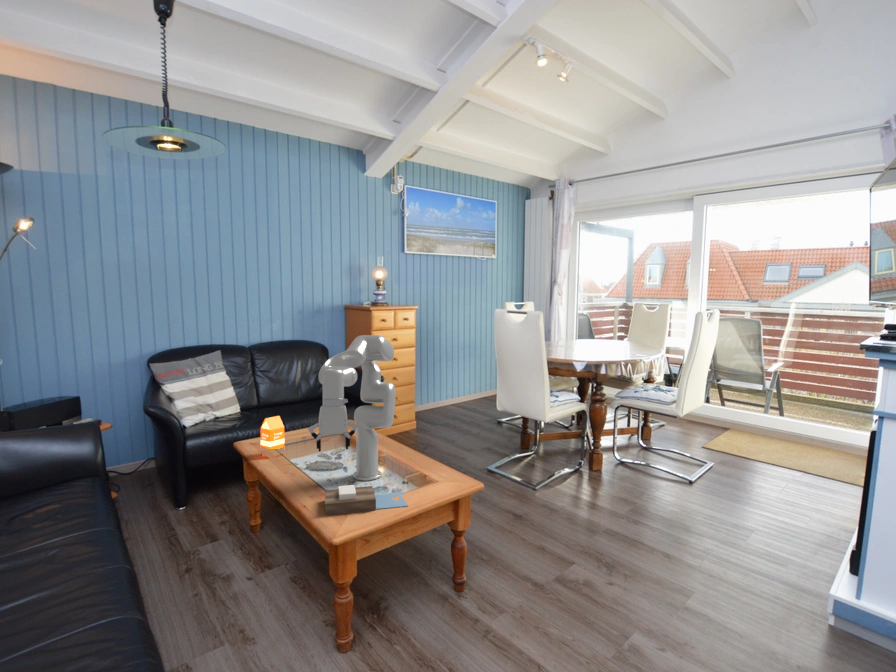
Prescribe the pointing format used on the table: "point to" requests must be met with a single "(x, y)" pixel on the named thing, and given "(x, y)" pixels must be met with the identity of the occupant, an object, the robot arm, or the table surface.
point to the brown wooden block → (350, 501)
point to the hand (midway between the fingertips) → (333, 449)
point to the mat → (389, 501)
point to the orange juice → (272, 433)
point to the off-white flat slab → (347, 492)
